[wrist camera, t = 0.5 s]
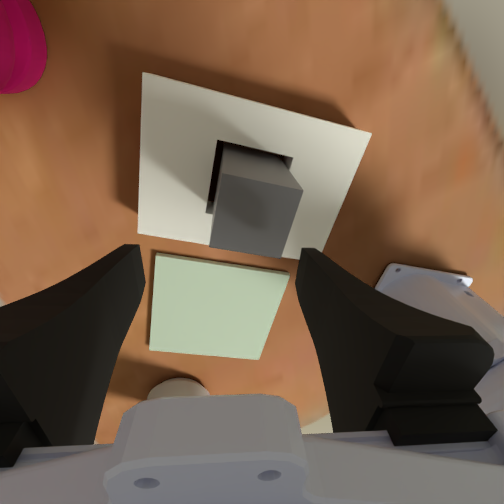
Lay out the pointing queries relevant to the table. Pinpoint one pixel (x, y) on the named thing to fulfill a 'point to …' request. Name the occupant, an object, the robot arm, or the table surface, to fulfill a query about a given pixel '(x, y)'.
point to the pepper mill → (20, 46)
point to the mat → (213, 307)
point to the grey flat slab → (242, 133)
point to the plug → (253, 202)
